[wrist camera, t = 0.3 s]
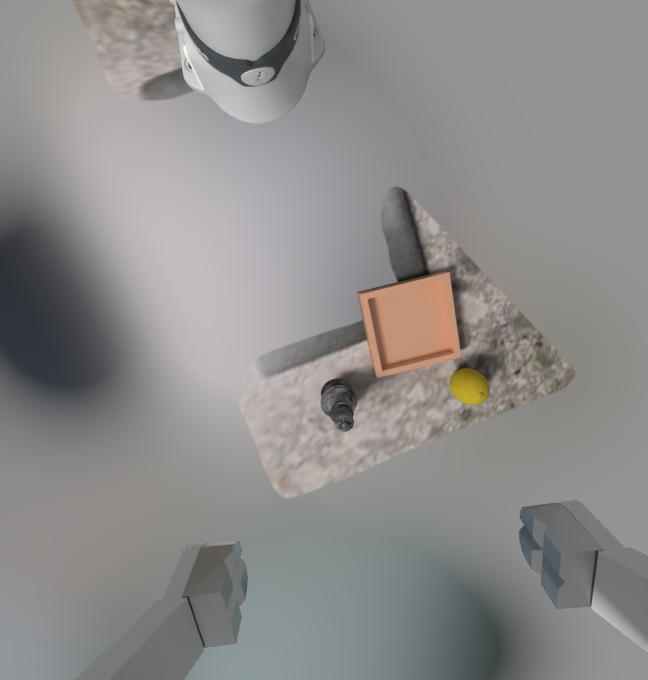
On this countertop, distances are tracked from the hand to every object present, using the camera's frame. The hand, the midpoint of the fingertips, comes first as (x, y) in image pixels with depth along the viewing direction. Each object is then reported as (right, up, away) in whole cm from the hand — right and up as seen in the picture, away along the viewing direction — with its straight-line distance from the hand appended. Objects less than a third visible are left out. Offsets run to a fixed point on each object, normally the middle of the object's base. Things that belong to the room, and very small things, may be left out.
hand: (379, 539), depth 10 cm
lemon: (+22, -1, +51) cm, 56 cm away
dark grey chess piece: (+1, -3, +51) cm, 51 cm away
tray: (+12, +8, +48) cm, 50 cm away
